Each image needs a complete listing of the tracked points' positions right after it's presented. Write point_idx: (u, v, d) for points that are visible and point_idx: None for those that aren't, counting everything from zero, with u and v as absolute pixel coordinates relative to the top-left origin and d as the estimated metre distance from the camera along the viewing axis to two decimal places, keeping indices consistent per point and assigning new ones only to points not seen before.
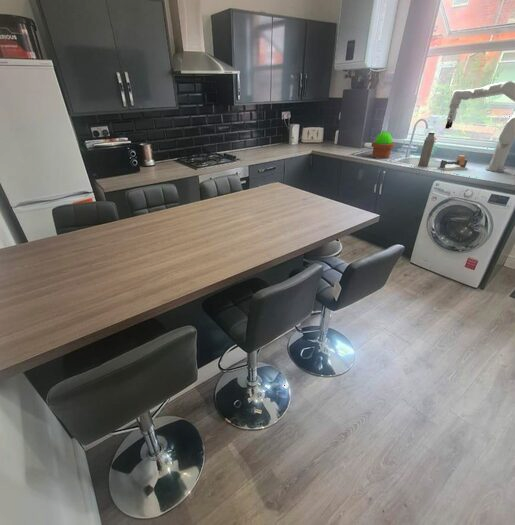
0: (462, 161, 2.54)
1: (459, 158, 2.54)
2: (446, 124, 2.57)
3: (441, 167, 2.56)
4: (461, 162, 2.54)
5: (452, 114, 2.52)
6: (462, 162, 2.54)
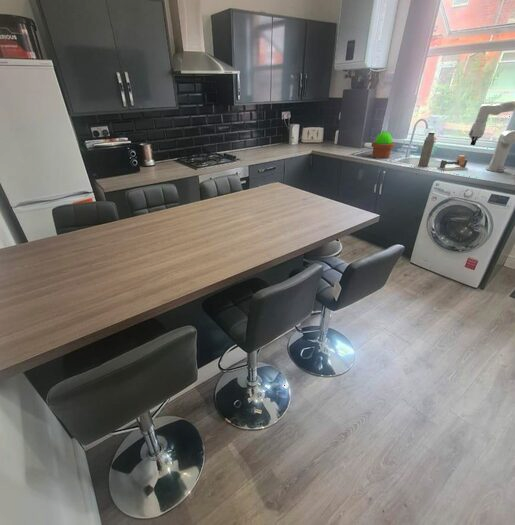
0: (462, 161, 2.54)
1: (459, 158, 2.54)
2: (475, 141, 2.48)
3: (441, 167, 2.56)
4: (461, 162, 2.54)
5: None
6: (462, 162, 2.54)
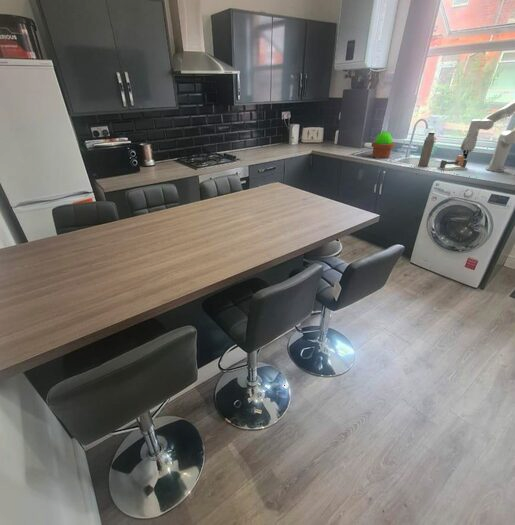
0: (461, 161, 2.54)
1: (458, 158, 2.54)
2: (467, 154, 2.53)
3: (441, 167, 2.56)
4: (460, 162, 2.54)
5: None
6: (461, 162, 2.54)
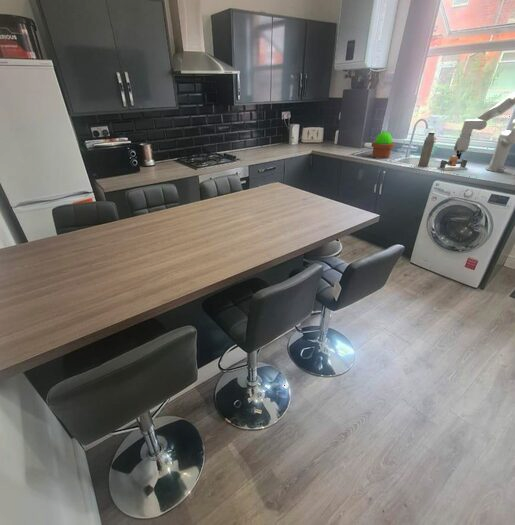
0: (454, 161, 2.53)
1: (451, 158, 2.53)
2: (460, 154, 2.52)
3: (441, 167, 2.56)
4: (453, 162, 2.53)
5: None
6: (454, 162, 2.53)
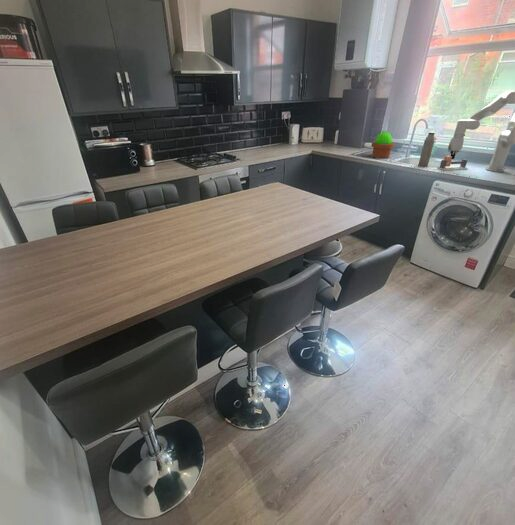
0: (448, 162, 2.52)
1: (445, 159, 2.53)
2: (454, 155, 2.51)
3: (441, 167, 2.56)
4: (447, 163, 2.52)
5: None
6: (448, 163, 2.53)
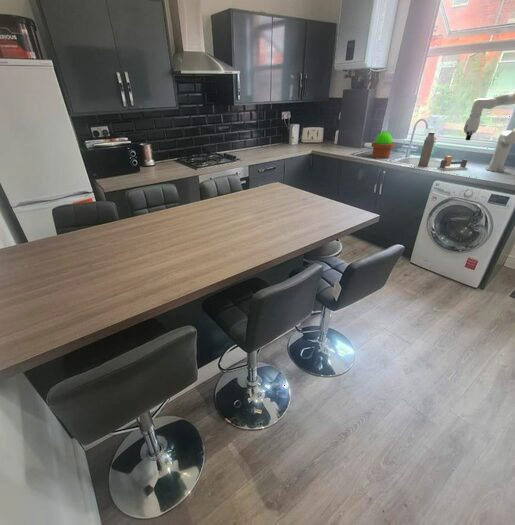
0: (448, 162, 2.52)
1: (445, 159, 2.53)
2: (470, 136, 2.46)
3: (441, 167, 2.56)
4: (447, 163, 2.52)
5: None
6: (448, 163, 2.53)
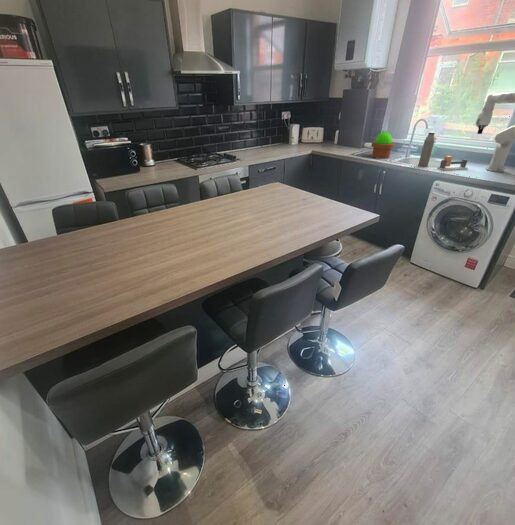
0: (448, 162, 2.52)
1: (445, 159, 2.53)
2: (482, 129, 2.52)
3: (441, 167, 2.56)
4: (447, 163, 2.52)
5: None
6: (448, 163, 2.53)
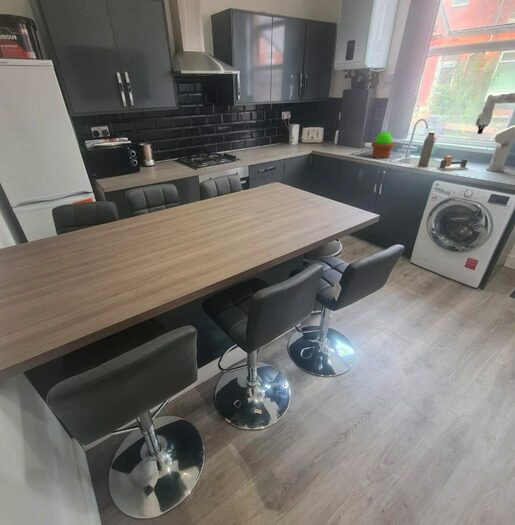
0: (448, 162, 2.52)
1: (445, 159, 2.53)
2: (482, 129, 2.52)
3: (441, 167, 2.56)
4: (447, 163, 2.52)
5: None
6: (448, 163, 2.53)
